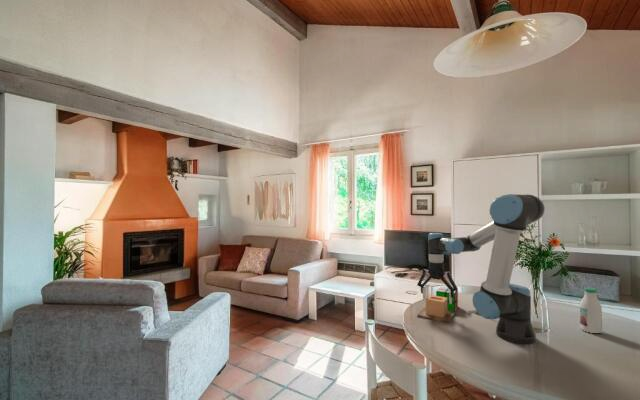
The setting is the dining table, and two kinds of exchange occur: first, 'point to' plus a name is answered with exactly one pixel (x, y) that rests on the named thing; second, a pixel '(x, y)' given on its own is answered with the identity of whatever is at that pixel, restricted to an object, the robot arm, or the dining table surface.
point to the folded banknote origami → (473, 313)
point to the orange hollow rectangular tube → (436, 306)
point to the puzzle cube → (445, 293)
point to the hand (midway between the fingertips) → (437, 301)
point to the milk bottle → (590, 312)
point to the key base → (446, 319)
